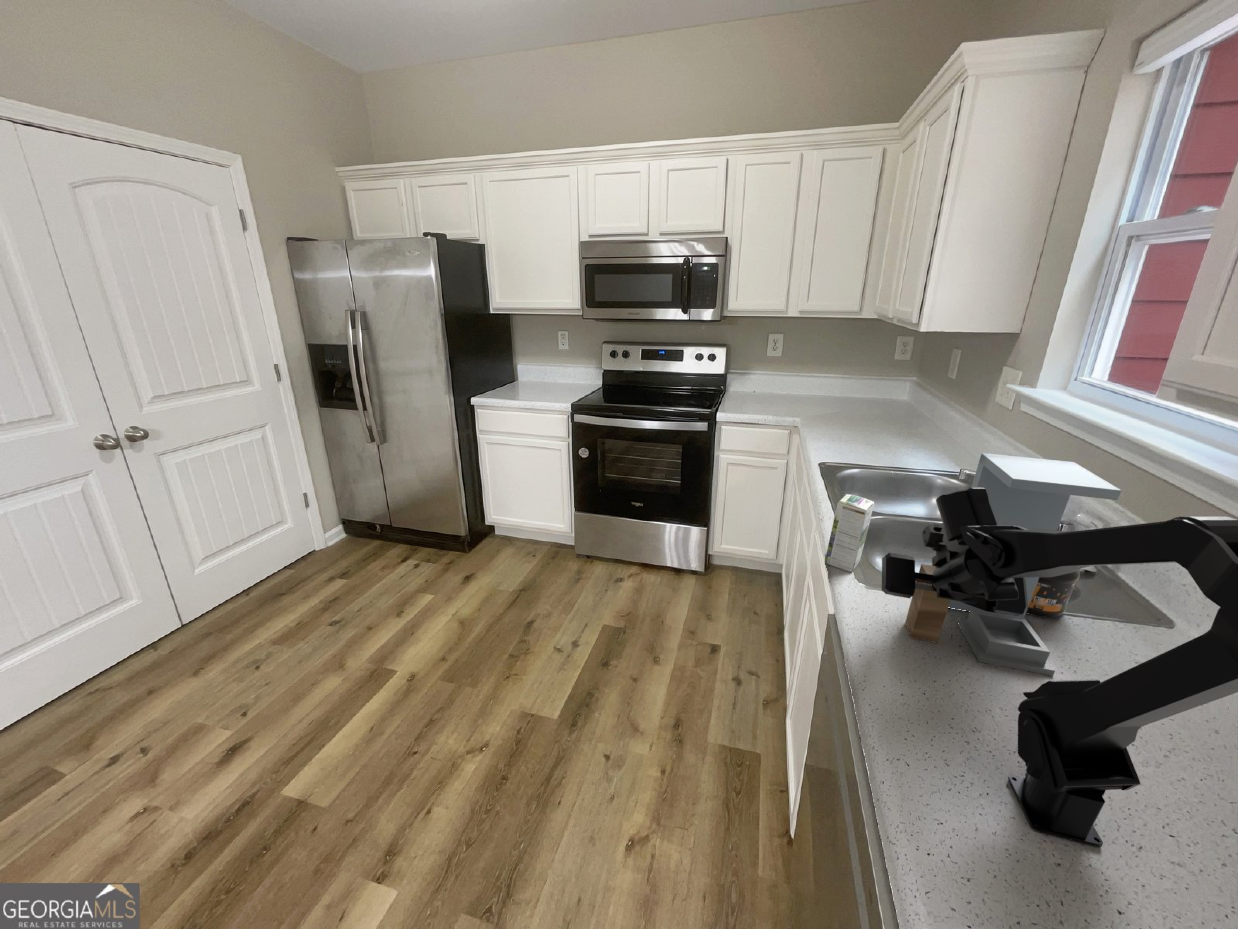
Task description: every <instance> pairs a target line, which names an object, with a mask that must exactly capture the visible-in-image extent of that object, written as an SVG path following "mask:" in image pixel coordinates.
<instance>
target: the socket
mask: <svg viewBox="0 0 1238 929" xmlns="http://www.w3.org/2000/svg"><path fill="white" fill-rule="evenodd" d="M957 622H958V623H959V625H960V627H961V629H960V630H961V632H962V631H963V632H962V634H963V633H964V634H963V636H964V635H965V636H964V638H965V639H966V641H967V643H968V645H969V647H970V648H971V650H972V653H973V654H974V655H975V657H976V660H977V661H978V663H984V664H989V665H995V666H999V667H1004V668H1010V669H1015V670H1019V671H1020V670H1021V671H1025V672H1031V673H1036V674H1040V675H1041V674H1042V675H1045V676H1052V677H1054V675H1055V672H1056V670H1055V668H1054V667H1053V665H1052V664H1051V663H1050V662H1049V659H1048V658H1049V656H1050V654H1051V651H1050V650H1049V649H1048V647H1047V646H1046V645H1045V643H1044V642H1043V641H1042V639H1041V638H1040V636H1039V635H1038V634H1037V633H1036V631H1035V630H1034V628H1032V626H1031V624H1030V623H1029V622H1028V621H1027V619H1025V618H1024V619H1019V618H1013V617H1007V616H1001V615H995V614H990V613H984V612H978V611H972V610H971V611H970V613H969V615H968V618H967V619H966V618H962V617H961V618H960V617H959V618H958V620H957ZM958 623H957V624H958ZM959 625H958V626H959ZM960 627H959V628H960Z"/></svg>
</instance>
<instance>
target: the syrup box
mask: <svg viewBox="0 0 1238 929" xmlns="http://www.w3.org/2000/svg"><path fill="white" fill-rule="evenodd" d="M874 506H875V502H874V501H873V500H871V499H868V498H865V497H862V496H857V495H854V494H848V493H846V494H845V495H844V496H843V497H842V498H841V499H840V500H839V501H838V502H837V504H836V509H835V514H834V517H833V522H832V523H833V524H832V525H831V526H832V527H831V530H830V537H829V540H828V545H827V551H826V553H825V558H824V564H827V565H829V566H832V567H835V568H838V569H841V570H843V571H846V572H849V573H853V572H854V570H856V568H857V566H858V565H859V564H860V562H861V560H862V554H863V551H864V546H865V543H866V538H867V536H868V535H867V534H868V532H869V528H870V524H871V519H872V514H873V510H874ZM859 561H860V562H859ZM858 563H859V564H858Z"/></svg>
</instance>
